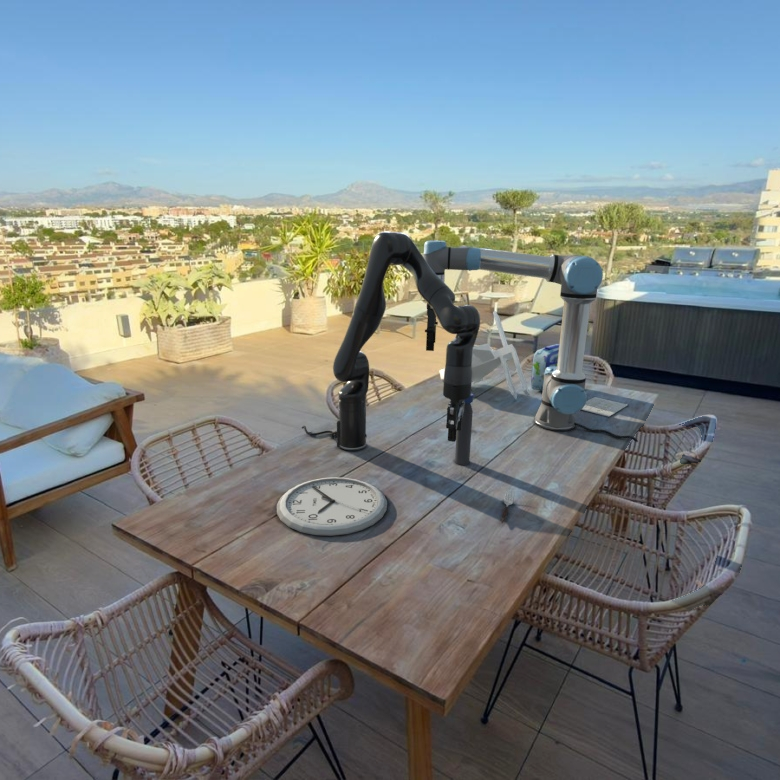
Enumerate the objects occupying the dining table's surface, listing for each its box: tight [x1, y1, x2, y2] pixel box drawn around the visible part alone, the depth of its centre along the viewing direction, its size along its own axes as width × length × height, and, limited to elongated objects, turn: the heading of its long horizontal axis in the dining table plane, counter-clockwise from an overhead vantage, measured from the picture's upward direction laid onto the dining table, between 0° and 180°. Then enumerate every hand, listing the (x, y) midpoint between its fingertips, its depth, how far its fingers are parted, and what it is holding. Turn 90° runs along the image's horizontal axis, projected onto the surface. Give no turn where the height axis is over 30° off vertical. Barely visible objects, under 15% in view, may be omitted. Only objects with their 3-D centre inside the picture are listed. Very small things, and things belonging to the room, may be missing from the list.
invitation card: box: [580, 396, 629, 418], centre depth 226 cm, size 21×1×15 cm
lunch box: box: [530, 343, 560, 392], centre depth 248 cm, size 26×11×21 cm, turn 134°
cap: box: [465, 392, 474, 404], centre depth 164 cm, size 4×4×2 cm
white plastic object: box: [438, 310, 531, 400], centre depth 245 cm, size 37×45×31 cm
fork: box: [501, 490, 516, 524], centre depth 141 cm, size 3×16×2 cm, turn 160°
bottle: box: [454, 403, 474, 466], centre depth 167 cm, size 5×5×23 cm
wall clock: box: [276, 476, 388, 537], centre depth 142 cm, size 30×2×30 cm
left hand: (454, 435), depth 146 cm, fingers open, 8 cm apart
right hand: (430, 346), depth 188 cm, fingers open, 13 cm apart
